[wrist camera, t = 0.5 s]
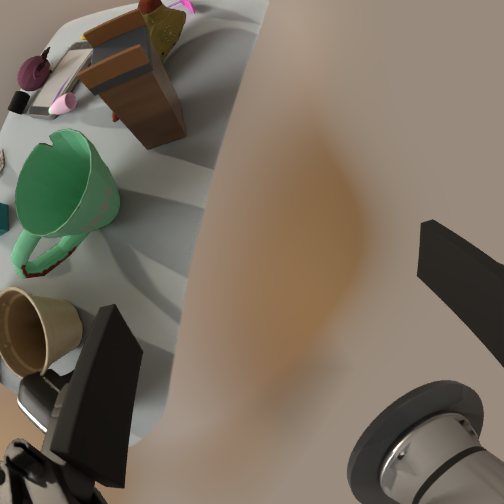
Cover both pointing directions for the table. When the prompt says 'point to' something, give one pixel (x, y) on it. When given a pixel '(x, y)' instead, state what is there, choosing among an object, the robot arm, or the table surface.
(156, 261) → the table surface
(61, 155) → the mug
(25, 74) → the figurine
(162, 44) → the ocarina
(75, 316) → the flower pot
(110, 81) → the base
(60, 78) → the smartphone
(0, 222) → the teal cube
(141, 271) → the table surface
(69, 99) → the earplug
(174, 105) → the wooden tower block
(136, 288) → the table surface
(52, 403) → the battery charger
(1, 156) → the grey jagged fragment
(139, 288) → the table surface
